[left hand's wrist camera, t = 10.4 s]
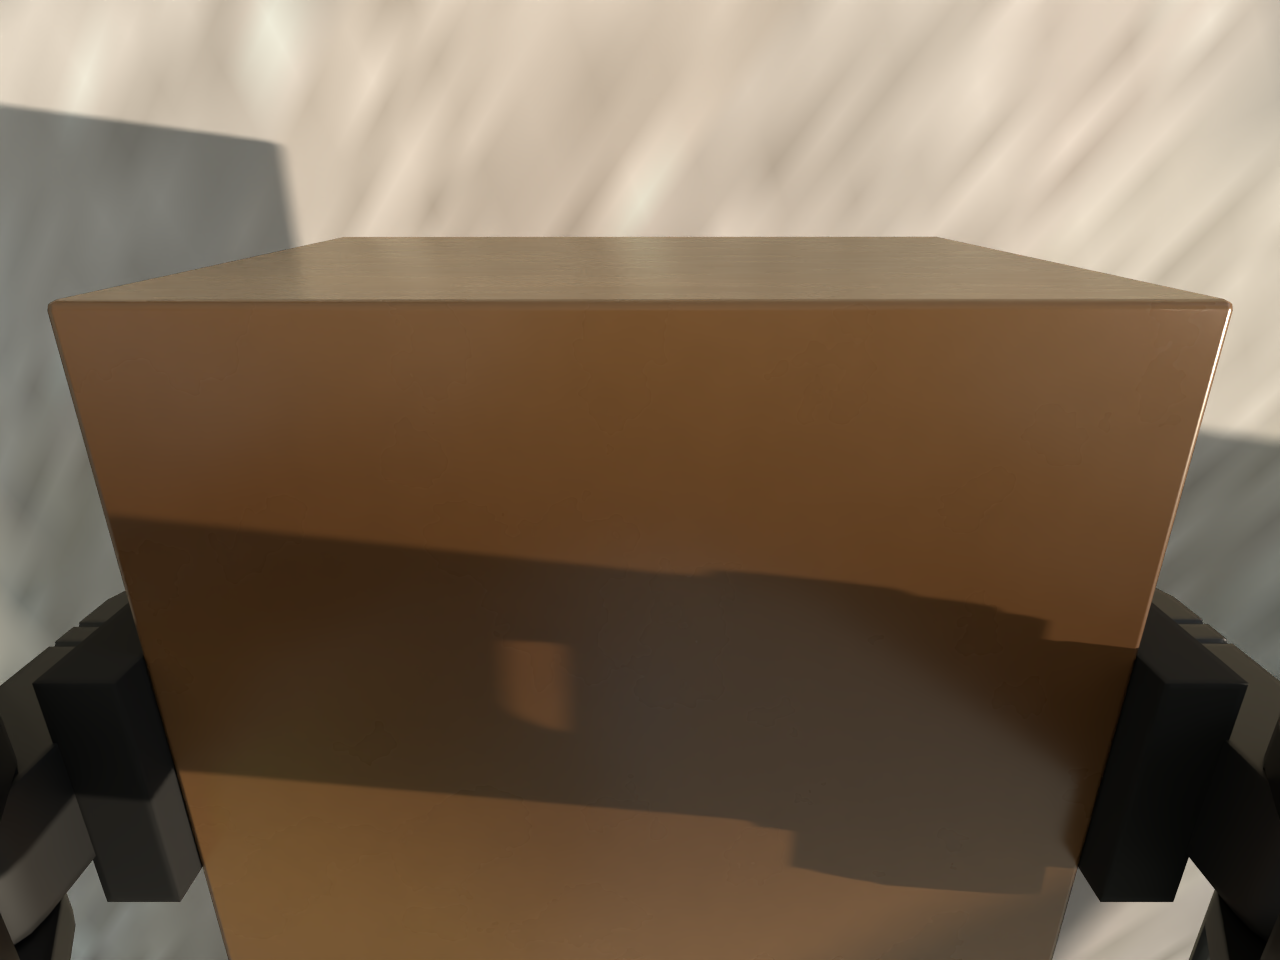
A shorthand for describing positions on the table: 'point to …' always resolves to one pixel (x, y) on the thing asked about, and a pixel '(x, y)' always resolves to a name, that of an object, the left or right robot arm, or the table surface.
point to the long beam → (640, 583)
